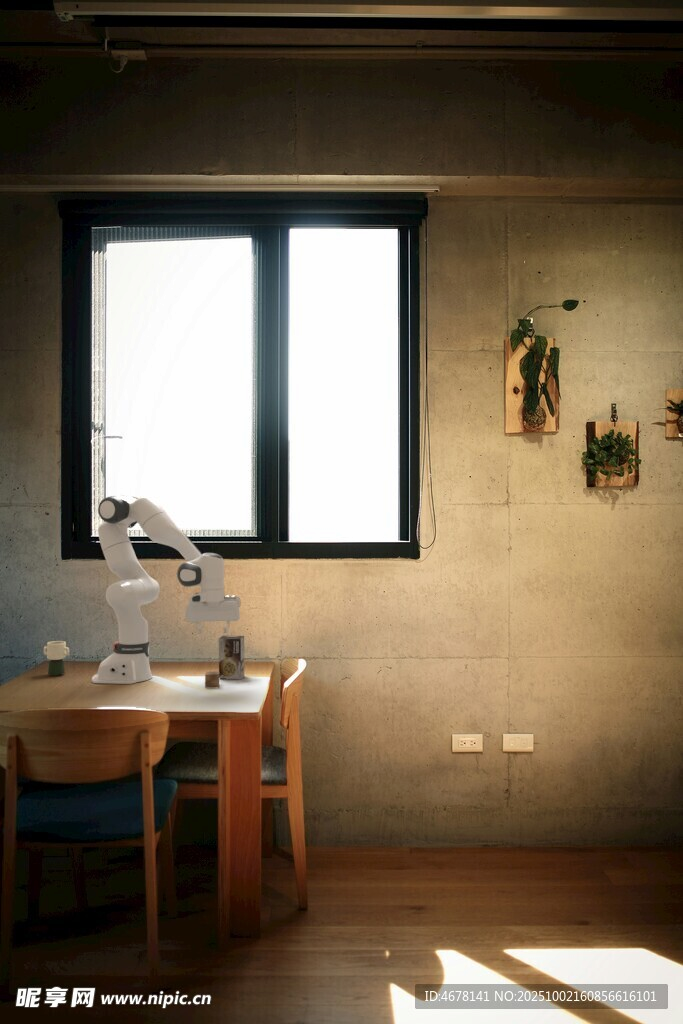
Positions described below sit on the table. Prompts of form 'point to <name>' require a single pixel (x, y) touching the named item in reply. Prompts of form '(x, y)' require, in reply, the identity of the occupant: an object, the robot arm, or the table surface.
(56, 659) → the trophy cup
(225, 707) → the table surface
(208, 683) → the walnut cube
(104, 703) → the table surface
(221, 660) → the coffee box
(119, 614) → the robot arm
